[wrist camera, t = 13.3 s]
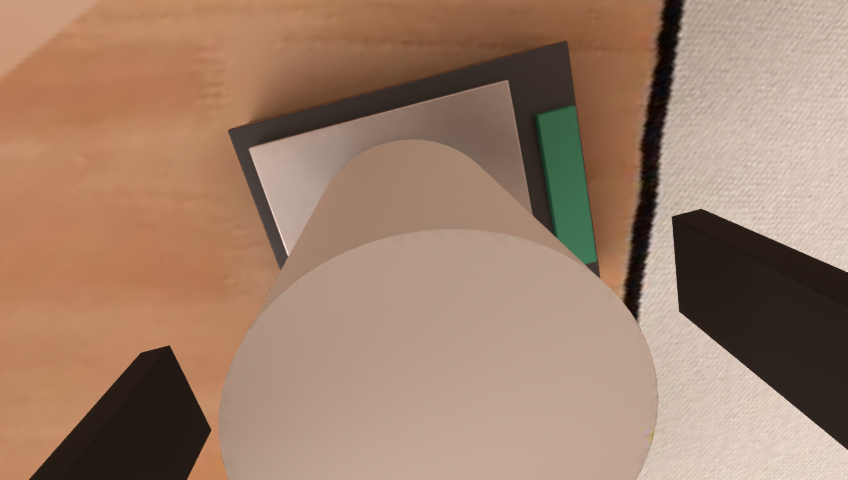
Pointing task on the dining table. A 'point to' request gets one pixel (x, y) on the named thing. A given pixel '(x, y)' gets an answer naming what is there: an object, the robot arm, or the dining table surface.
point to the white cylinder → (435, 341)
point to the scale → (536, 124)
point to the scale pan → (425, 120)
